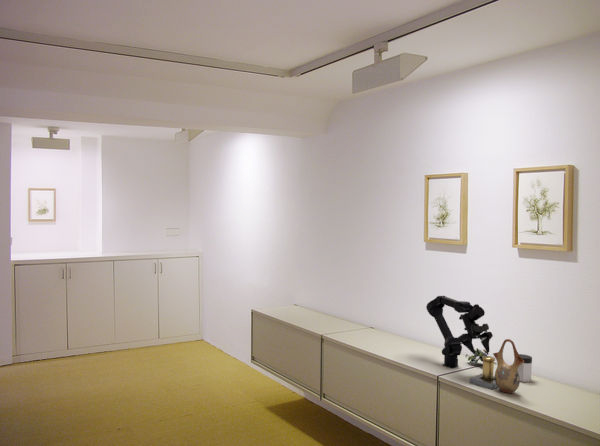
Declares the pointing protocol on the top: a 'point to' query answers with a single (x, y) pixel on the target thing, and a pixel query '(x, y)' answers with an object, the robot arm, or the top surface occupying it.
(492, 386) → the grey square flat frame
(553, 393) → the top surface
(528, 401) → the top surface
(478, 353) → the passion flower
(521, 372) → the jar
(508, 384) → the ceramic vessel
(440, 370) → the top surface
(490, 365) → the brass goblet
